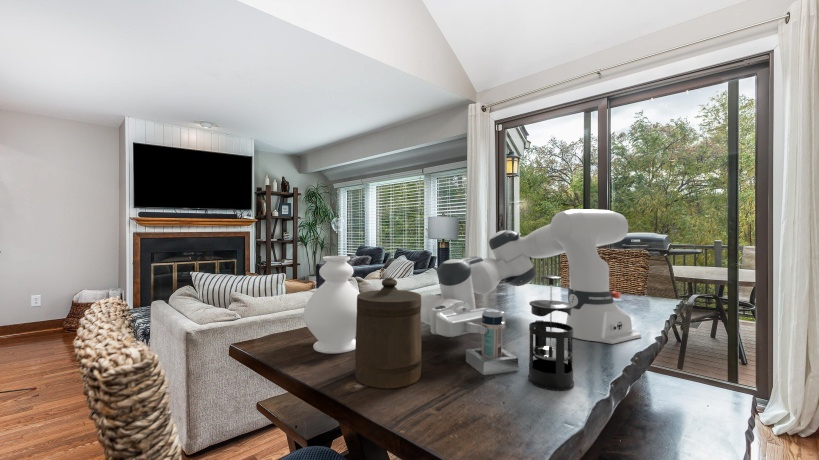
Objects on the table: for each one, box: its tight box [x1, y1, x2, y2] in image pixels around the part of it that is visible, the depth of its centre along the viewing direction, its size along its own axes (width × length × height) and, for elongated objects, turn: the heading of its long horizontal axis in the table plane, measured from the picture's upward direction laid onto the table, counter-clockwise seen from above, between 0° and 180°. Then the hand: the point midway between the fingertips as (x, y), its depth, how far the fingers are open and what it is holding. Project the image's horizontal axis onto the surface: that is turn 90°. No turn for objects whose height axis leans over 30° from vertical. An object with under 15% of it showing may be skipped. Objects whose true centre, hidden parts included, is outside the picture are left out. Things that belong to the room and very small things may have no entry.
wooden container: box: [354, 277, 422, 389], centre depth 84 cm, size 15×15×22 cm
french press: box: [527, 274, 575, 392], centre depth 81 cm, size 12×9×23 cm
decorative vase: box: [303, 255, 361, 354], centre depth 104 cm, size 18×18×25 cm
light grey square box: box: [465, 347, 519, 376], centre depth 89 cm, size 9×9×3 cm
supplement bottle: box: [481, 307, 503, 359], centre depth 89 cm, size 5×5×12 cm
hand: (494, 328), depth 89 cm, fingers closed on supplement bottle, 5 cm apart
